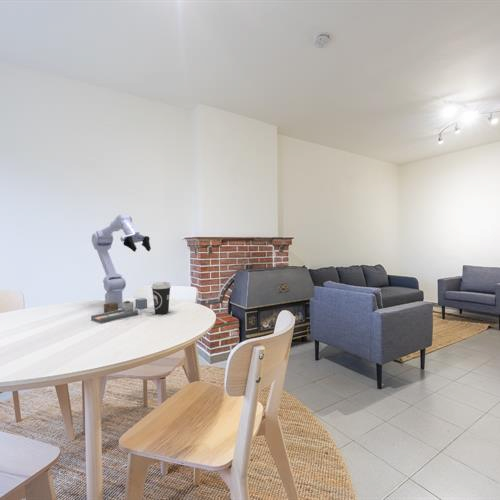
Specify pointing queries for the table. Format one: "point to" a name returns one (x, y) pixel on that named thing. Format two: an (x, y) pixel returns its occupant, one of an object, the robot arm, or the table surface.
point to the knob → (126, 306)
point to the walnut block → (110, 307)
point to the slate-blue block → (141, 303)
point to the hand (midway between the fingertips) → (142, 249)
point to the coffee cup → (161, 297)
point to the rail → (112, 316)
